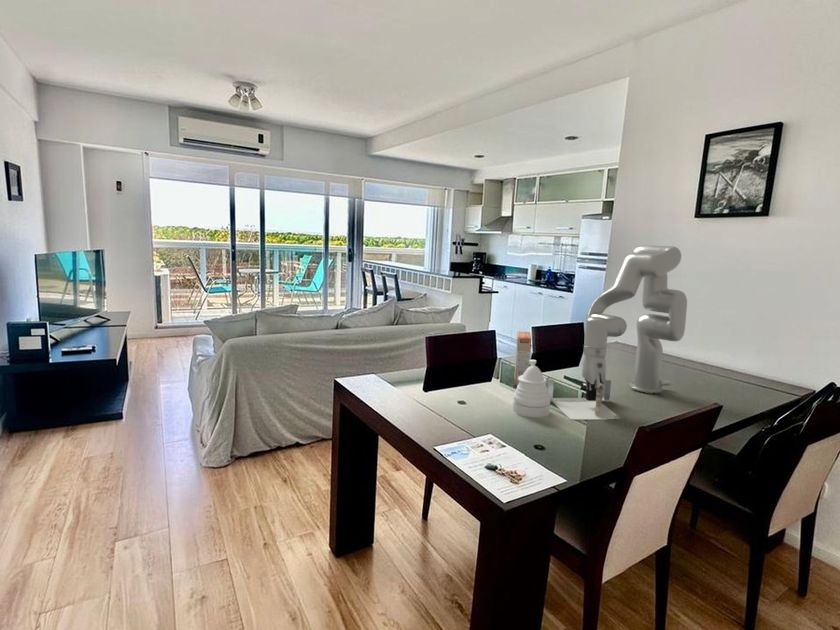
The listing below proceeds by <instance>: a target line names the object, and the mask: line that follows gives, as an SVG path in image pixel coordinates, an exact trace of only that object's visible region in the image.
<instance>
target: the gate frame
mask: <svg viewBox="0 0 840 630" xmlns="http://www.w3.org/2000/svg"><path fill="white" fill-rule="evenodd" d="M546 380H547V382H546V387H547V388H548V393H549V396H550V403H553V402H596V400H595V401H588V400H587V399H586V397H553V396H554V385H555V384H554V383H555V380H554V379H553V378H552V377H551V378H546ZM611 385H612V380H611V379H610V378H605V384H604V386H603V397H602V400H601V403H611V402H612V400H611V399H610V398H611V387H612V386H611Z"/></svg>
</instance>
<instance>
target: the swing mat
mask: <svg viewBox="0 0 840 630" xmlns="http://www.w3.org/2000/svg"><path fill="white" fill-rule="evenodd" d="M552 403H553V404H554V405H555V406H556V407H557V408H558V409H559V411H561V412H562V413H563V414H564V415H565V416H566V418H568V419H569V421H608V420H607V419H614V415H615V416H616V415H617V414H616V413H615V412H614V411H612V410H611V409H610V408H608V406H606V405H605V404H603V402H601V405H600V411H599V415H595V408H596V402H552Z"/></svg>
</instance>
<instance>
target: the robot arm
mask: <svg viewBox="0 0 840 630" xmlns="http://www.w3.org/2000/svg"><path fill="white" fill-rule="evenodd" d="M681 259H682V252H681V250H680V249H679V248H678V246H677V247H676V246H671V245H641V246H636V247H635V248H633V251H632V253H630V254H627V255H626V256H625V257H624V259H623V261H622V263H621V265H620V268H619V270H618V273H617V275H616V278H614V281H613V284H612V285H611V287H610V288H609V289H607V290H606V291H605V292H603V293H602V294H600V295H599V296H598V297H597V298H596V299H595V300H594V301H593V302H592V304H591V306H590V307H589V311H588V313H587V316H586V319H585V330H584V342H583V343H584V344H583V355H584V356H583V362H582V370H581V371H582V373H581V375H582V379H584V381H585V388H586V389H585V390H586V391H585V398H586V399H587V400H588V401H595V400H596V394H597V390H598V389H599V388H600V383H601V384H605V379H606V374H607V372H606V369H607V368H606V367H607V364H606V354H607V344H608V343H607V342H608V337H609V338H610V337H611V338H618V337H621V336H623V334H625V332H626V331H627V329H628V328H627V327H628V325H627V322H626V320H625V319H624V318H623V317H621V316H616V315H610V314H606V313H604V312H605V310H606V309H607V308H609V307H611V306H612V305H614V304H617V303H620V302H624V301H626V300H629V299H632V298H635V296H636V295H637V294H636V293H637V292H638V289H639V287H640V285H641V283H642V280H643V286H642V287H643V289H642V307H643V308H644V310H646V311H649V312H656V313H664V314H668V316H667V315H661V314H654V313H645V314H642V315H640V316H639V317H638V318H637V320H636V335H637V345H636V353H635V365H634V374H633V375H634V376H633V381H632V382H630V383H629V385H628V387H629V386H630V387H631V388H632V389H631V388H630V387H629V388H630V389H631V390H633V389H635V390H637V391H636V392H639V391H641V392H640V393H643V392H645V394H653V393H655V394H660V393H662V392H663V390H664V389H663V387H664V386H665V387H667V386H668V387H670V386H671V385H672V384H671V381H670V380H664V379H661V377H660V376H661V368H662V359H663V344H662V343H661V340H662V341H663V340H664V341H667V342H679V341H681V340H682V339H683V337H684V335H685V330H686V323H687V322H686V321H687V309H688V299H687V295H686V294H685V292H683V291H682V290H679V289H673V288H672V289H669V288H668V278H669V277H668V273H670V272H671V271H673V270H674V269H676V268H677V267H678V266H679V265H680V263H681ZM635 390H634V391H635Z"/></svg>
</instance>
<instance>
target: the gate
mask: <svg viewBox="0 0 840 630" xmlns="http://www.w3.org/2000/svg"><path fill="white" fill-rule="evenodd" d="M603 386H604V384H601V383H600V388H599V389H597V393H596V408H595V415H599V411H600V405H601V403H602V402H601V400H602V397H603Z"/></svg>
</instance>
